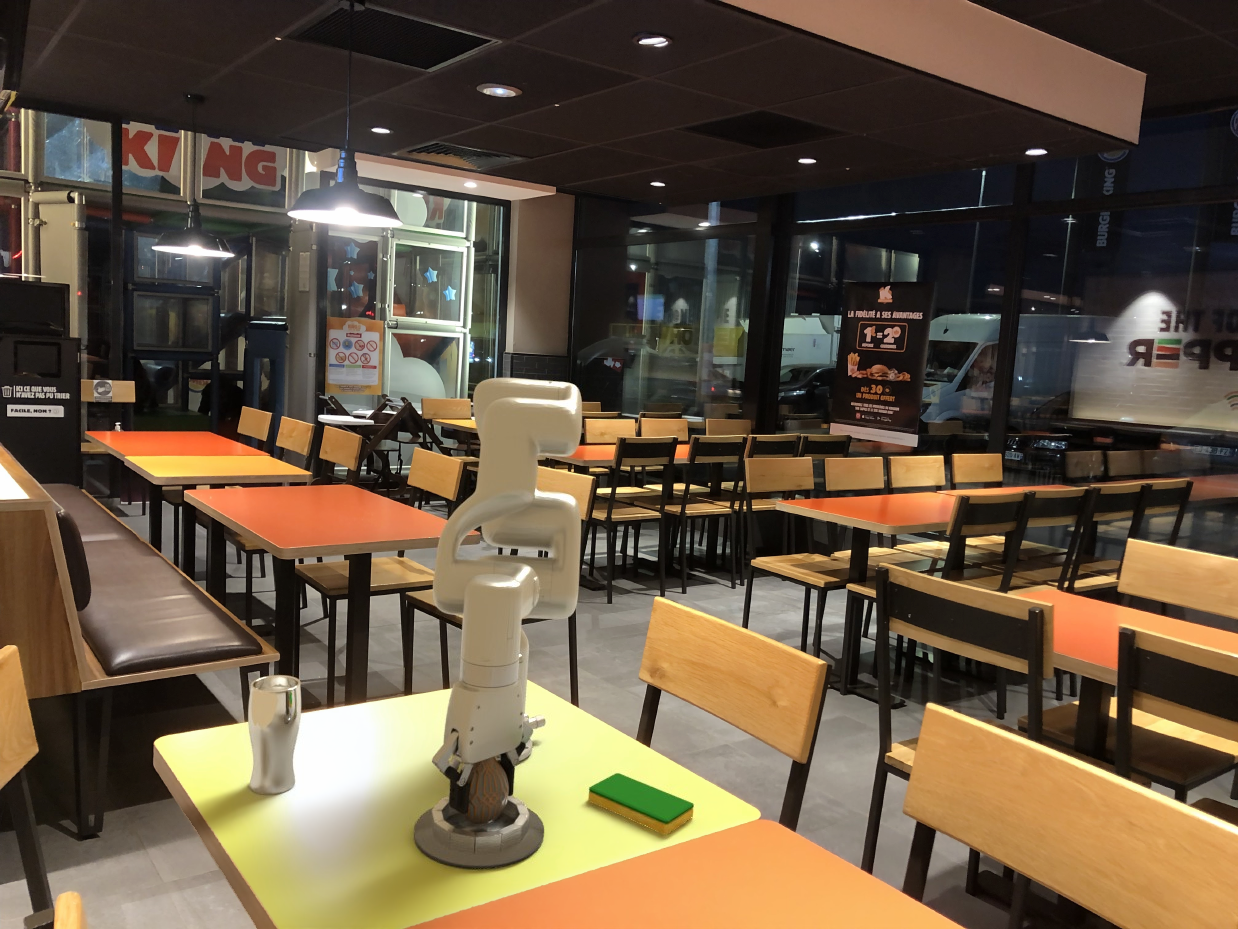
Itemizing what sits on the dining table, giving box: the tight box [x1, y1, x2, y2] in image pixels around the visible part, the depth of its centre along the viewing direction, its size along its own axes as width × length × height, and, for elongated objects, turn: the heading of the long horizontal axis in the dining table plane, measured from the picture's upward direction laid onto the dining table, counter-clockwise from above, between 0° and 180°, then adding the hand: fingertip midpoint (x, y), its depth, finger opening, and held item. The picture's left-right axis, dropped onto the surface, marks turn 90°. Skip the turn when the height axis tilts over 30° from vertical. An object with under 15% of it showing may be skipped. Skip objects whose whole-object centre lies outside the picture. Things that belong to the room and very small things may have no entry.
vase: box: [462, 756, 509, 824], centre depth 122 cm, size 7×7×9 cm
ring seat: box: [413, 795, 545, 870], centre depth 122 cm, size 17×17×3 cm
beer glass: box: [247, 674, 302, 796], centre depth 130 cm, size 7×7×15 cm
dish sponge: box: [588, 772, 695, 835], centre depth 132 cm, size 7×14×2 cm, turn 53°
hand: (481, 800), depth 122 cm, fingers closed on vase, 6 cm apart
